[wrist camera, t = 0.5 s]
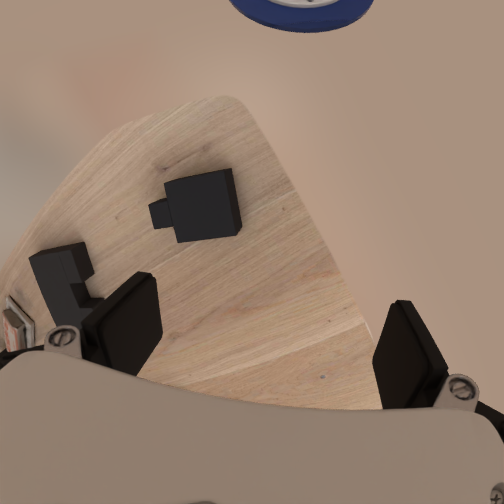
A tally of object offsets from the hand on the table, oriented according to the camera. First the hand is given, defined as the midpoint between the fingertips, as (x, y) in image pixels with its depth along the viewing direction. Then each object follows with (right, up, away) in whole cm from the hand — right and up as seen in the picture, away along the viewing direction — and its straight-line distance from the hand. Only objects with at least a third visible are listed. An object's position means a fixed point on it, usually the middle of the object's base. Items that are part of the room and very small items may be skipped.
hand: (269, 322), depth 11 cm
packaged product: (-56, -16, +38) cm, 69 cm away
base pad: (-29, -3, +28) cm, 41 cm away
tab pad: (-7, +8, +20) cm, 23 cm away
